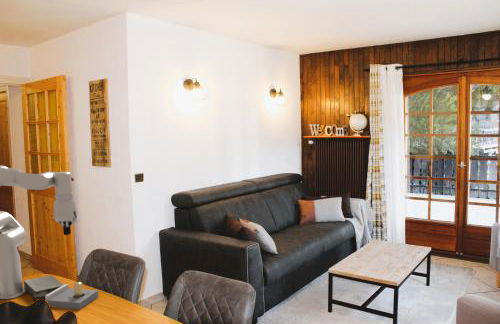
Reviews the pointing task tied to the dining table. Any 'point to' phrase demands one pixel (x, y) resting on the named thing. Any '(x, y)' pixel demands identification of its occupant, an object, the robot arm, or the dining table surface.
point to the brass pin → (78, 289)
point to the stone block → (41, 286)
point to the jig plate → (70, 298)
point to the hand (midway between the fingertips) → (67, 234)
